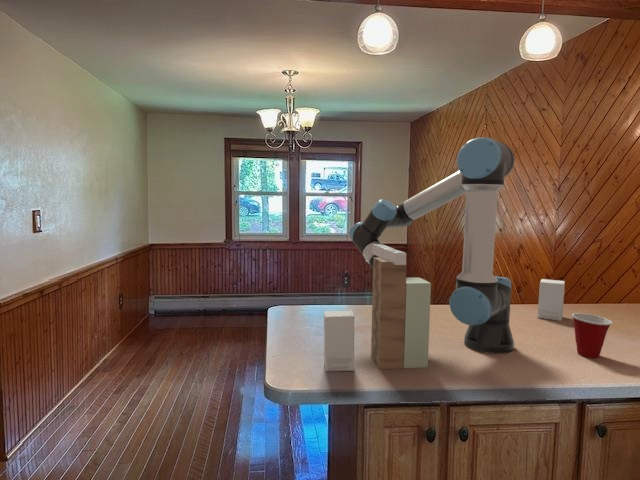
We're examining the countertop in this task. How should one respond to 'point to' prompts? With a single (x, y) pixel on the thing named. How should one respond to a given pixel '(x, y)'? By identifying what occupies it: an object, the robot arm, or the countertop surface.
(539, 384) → the countertop surface
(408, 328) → the sage dock
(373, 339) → the block
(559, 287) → the supplement box
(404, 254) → the grey bar
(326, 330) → the skincare box
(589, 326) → the plastic cup
